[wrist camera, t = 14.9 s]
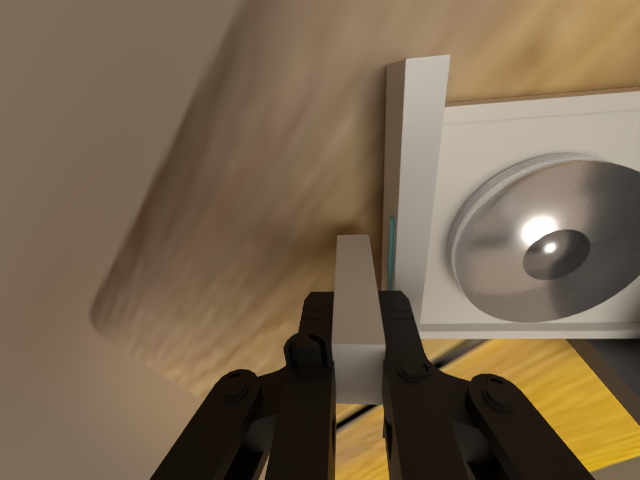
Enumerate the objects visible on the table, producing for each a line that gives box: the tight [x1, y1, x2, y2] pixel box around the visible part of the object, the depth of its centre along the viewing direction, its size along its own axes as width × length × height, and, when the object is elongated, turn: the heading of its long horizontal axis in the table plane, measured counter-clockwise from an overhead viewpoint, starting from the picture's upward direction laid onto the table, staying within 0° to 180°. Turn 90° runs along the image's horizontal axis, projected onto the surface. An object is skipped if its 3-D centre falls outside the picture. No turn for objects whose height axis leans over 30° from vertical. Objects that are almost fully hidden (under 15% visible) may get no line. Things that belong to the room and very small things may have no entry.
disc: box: [447, 153, 640, 323], centre depth 13 cm, size 8×8×2 cm
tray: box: [381, 55, 640, 339], centre depth 13 cm, size 16×18×4 cm
